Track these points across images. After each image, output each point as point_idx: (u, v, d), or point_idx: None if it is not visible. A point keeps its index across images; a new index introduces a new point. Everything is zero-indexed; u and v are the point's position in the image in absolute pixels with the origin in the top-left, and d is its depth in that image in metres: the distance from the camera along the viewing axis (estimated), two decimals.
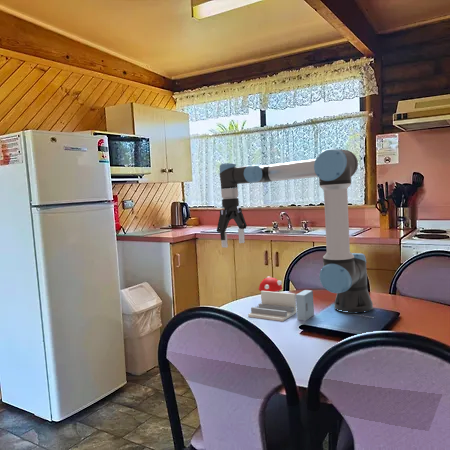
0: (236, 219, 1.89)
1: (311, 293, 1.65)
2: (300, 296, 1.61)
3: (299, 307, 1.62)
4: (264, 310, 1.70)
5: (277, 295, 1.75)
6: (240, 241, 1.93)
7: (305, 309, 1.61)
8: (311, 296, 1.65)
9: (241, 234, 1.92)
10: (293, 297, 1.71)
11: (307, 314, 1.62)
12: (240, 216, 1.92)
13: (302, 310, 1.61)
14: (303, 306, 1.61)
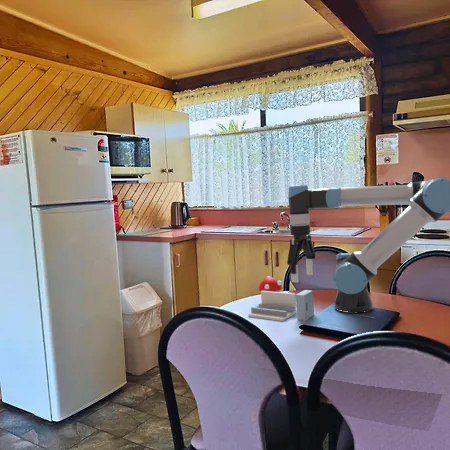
0: (305, 248, 1.66)
1: (311, 293, 1.65)
2: (300, 296, 1.61)
3: (299, 307, 1.62)
4: (264, 310, 1.70)
5: (277, 295, 1.75)
6: (308, 273, 1.69)
7: (305, 309, 1.61)
8: (311, 296, 1.65)
9: (310, 265, 1.69)
10: (293, 297, 1.71)
11: (307, 314, 1.62)
12: (309, 244, 1.68)
13: (302, 310, 1.61)
14: (303, 306, 1.61)
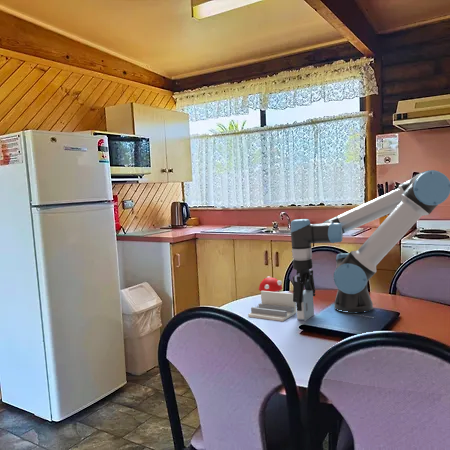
0: (306, 283, 1.66)
1: (311, 293, 1.65)
2: None
3: None
4: (264, 310, 1.70)
5: (277, 295, 1.75)
6: None
7: (305, 309, 1.61)
8: (311, 296, 1.65)
9: None
10: None
11: (307, 314, 1.62)
12: (310, 280, 1.68)
13: None
14: None
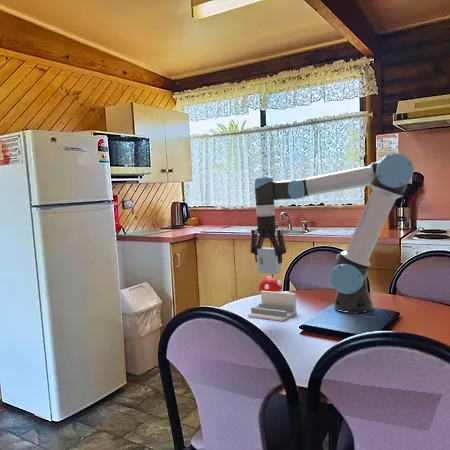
0: None
1: (271, 251, 1.67)
2: None
3: None
4: (264, 310, 1.70)
5: (277, 295, 1.75)
6: None
7: (259, 262, 1.71)
8: (271, 254, 1.67)
9: None
10: (293, 297, 1.71)
11: (262, 268, 1.70)
12: None
13: None
14: None
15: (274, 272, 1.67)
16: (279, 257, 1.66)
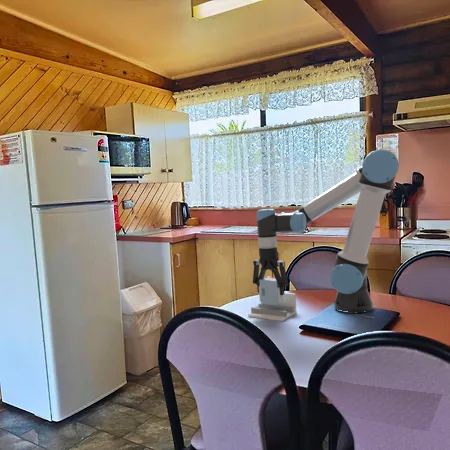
0: None
1: (273, 283, 1.68)
2: None
3: None
4: (264, 310, 1.70)
5: None
6: None
7: (261, 293, 1.72)
8: (273, 285, 1.68)
9: None
10: (293, 297, 1.71)
11: (264, 299, 1.71)
12: None
13: None
14: None
15: (276, 304, 1.68)
16: (281, 289, 1.67)
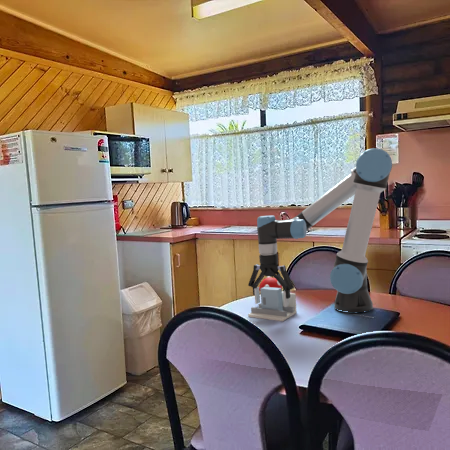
0: None
1: (274, 292, 1.68)
2: None
3: None
4: (264, 310, 1.70)
5: None
6: None
7: (262, 302, 1.72)
8: (274, 294, 1.68)
9: None
10: (293, 297, 1.71)
11: (265, 307, 1.71)
12: None
13: None
14: None
15: None
16: (287, 292, 1.66)
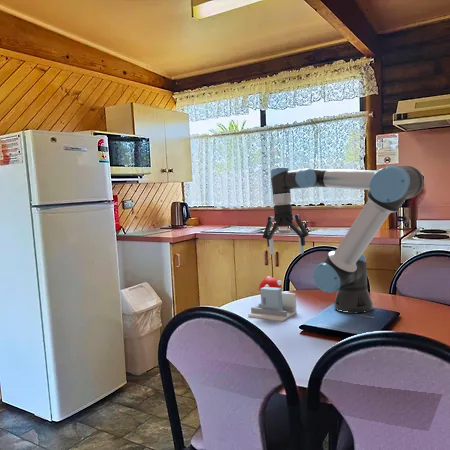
0: None
1: (274, 292, 1.68)
2: None
3: None
4: (264, 310, 1.70)
5: None
6: None
7: (262, 302, 1.72)
8: (274, 294, 1.68)
9: None
10: (293, 297, 1.71)
11: (265, 307, 1.71)
12: None
13: None
14: None
15: None
16: (302, 239, 1.72)
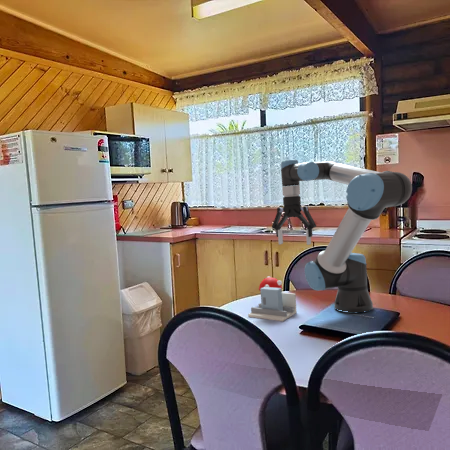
0: None
1: (274, 292, 1.68)
2: None
3: None
4: (264, 310, 1.70)
5: None
6: None
7: (262, 302, 1.72)
8: (274, 294, 1.68)
9: None
10: (293, 297, 1.71)
11: (265, 307, 1.71)
12: None
13: None
14: None
15: None
16: (309, 231, 1.77)
